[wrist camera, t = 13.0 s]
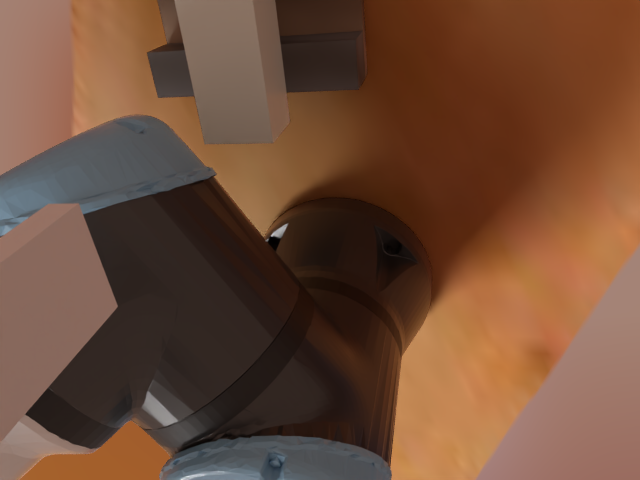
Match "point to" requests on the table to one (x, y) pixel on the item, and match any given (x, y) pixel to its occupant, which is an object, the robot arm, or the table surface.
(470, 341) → the table surface
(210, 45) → the clay strip
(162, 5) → the dark grey rimmed tray
